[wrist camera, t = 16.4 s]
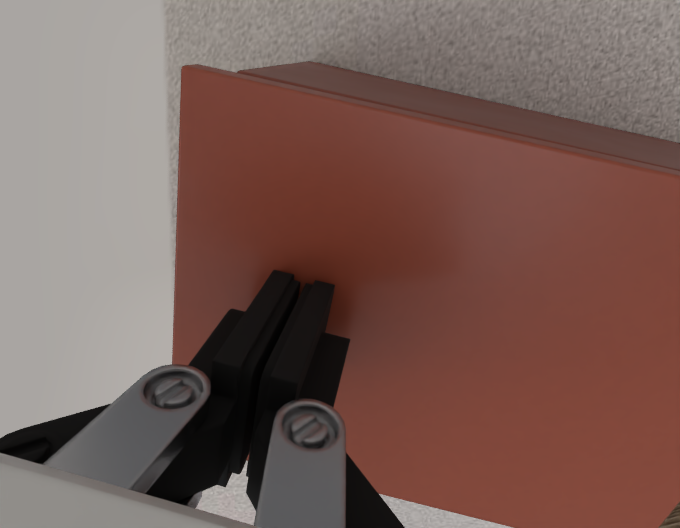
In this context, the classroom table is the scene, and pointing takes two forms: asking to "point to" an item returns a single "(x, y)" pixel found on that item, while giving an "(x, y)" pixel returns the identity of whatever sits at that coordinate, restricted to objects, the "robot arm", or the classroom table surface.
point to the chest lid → (450, 294)
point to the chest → (474, 112)
